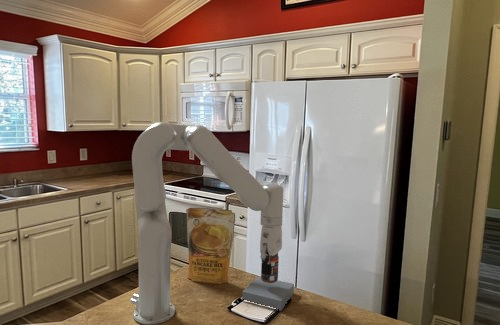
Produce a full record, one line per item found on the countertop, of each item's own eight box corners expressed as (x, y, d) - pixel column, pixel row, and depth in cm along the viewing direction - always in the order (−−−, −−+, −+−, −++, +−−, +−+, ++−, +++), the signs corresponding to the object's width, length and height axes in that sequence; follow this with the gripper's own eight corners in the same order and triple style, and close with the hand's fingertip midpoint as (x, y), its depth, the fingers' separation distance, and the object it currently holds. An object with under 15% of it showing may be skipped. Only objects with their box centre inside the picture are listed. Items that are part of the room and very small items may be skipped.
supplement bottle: (276, 284, 115) (277, 252, 114) (259, 282, 116) (260, 250, 115) (278, 277, 121) (279, 246, 120) (262, 275, 122) (263, 245, 121)
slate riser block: (242, 301, 116) (242, 291, 115) (258, 284, 128) (258, 276, 128) (280, 311, 110) (281, 300, 109) (293, 293, 122) (294, 283, 122)
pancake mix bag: (188, 273, 136) (189, 205, 134) (234, 278, 133) (236, 209, 131) (182, 280, 130) (182, 209, 127) (230, 286, 127) (232, 213, 124)
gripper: (272, 228, 107) (270, 282, 109) (289, 216, 123) (287, 264, 124) (251, 224, 110) (249, 277, 112) (270, 213, 126) (268, 260, 128)
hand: (269, 270), depth 118 cm, fingers closed on supplement bottle, 5 cm apart
